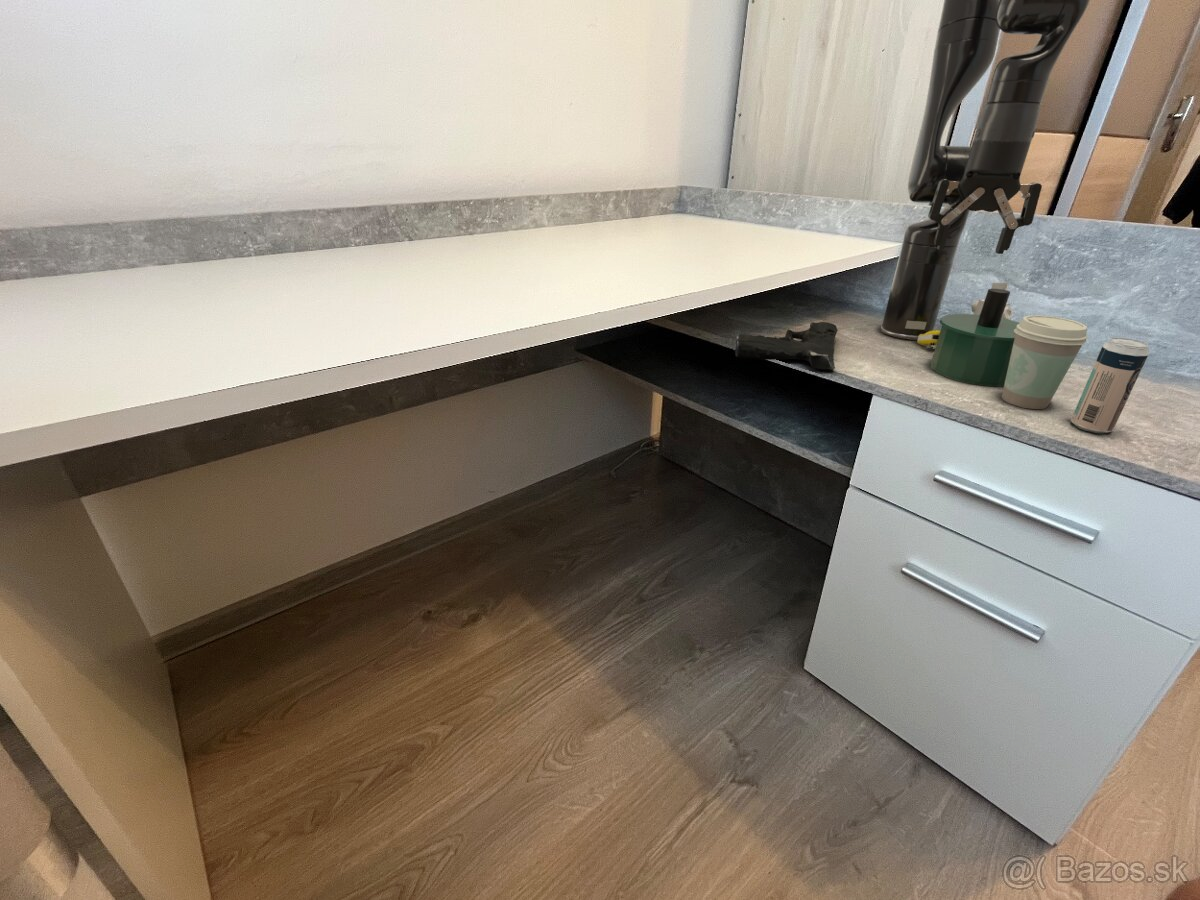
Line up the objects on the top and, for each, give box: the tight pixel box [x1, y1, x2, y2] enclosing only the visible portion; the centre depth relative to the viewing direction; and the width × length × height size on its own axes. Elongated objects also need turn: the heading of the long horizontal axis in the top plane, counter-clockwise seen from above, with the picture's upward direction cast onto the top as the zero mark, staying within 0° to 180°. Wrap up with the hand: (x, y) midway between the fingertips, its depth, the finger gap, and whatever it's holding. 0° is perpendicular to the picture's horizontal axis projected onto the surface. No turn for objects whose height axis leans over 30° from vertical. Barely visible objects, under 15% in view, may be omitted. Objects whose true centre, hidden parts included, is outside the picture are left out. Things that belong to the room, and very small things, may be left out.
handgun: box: [734, 321, 838, 370], centre depth 108 cm, size 21×17×4 cm
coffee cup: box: [1001, 314, 1088, 410], centre depth 86 cm, size 8×8×12 cm
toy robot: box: [970, 282, 1014, 320], centre depth 110 cm, size 4×8×12 cm, turn 17°
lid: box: [939, 288, 1020, 341], centre depth 95 cm, size 14×14×7 cm
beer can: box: [1070, 337, 1151, 434], centre depth 79 cm, size 5×5×12 cm
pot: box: [930, 325, 1014, 387], centre depth 98 cm, size 13×13×8 cm
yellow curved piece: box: [916, 329, 941, 350], centre depth 110 cm, size 10×6×4 cm, turn 71°
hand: (968, 251), depth 97 cm, fingers open, 8 cm apart
